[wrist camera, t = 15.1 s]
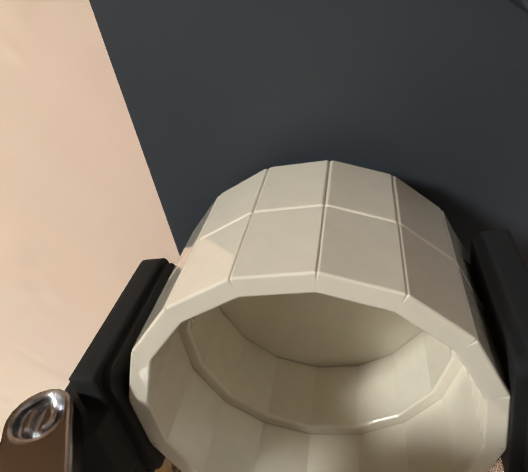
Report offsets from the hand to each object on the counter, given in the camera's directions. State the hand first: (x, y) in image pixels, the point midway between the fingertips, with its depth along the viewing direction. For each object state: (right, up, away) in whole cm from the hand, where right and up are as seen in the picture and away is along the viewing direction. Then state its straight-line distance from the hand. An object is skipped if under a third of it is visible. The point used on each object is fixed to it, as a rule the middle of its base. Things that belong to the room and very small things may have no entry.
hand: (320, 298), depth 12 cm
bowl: (0, 0, +1) cm, 1 cm away
